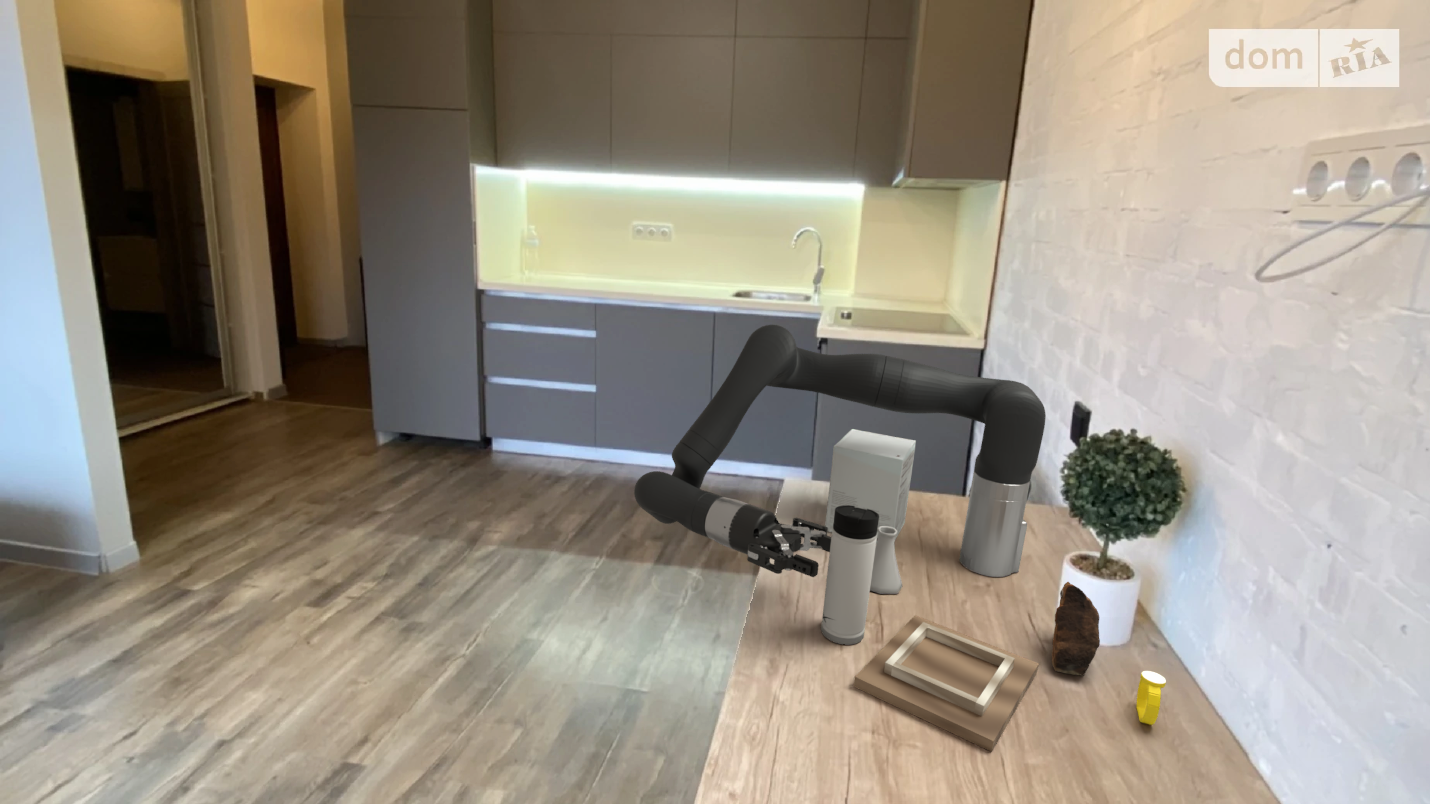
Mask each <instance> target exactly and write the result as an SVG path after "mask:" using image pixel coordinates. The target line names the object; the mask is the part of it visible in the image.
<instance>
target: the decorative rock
mask: <svg viewBox="0 0 1430 804" xmlns="http://www.w3.org/2000/svg"><path fill="white" fill-rule="evenodd" d="M1059 592H1060V593H1059V595H1060V600H1059V606H1058V607H1056V610H1055V614H1054V630H1053V635H1052V636H1053V638H1052V649H1051V650H1052V651H1051V665H1052V667H1053V669H1054V671H1055V672H1056V671H1058V672H1057V673H1063V674H1066V675H1067V674H1069V675H1073V676H1081V677H1082V676H1083V677H1084V676H1085V673H1086V672H1087V671H1088V669H1089V667H1090V665H1091V663H1092V661H1093V660H1094V657H1095V656H1096V653H1097V650H1098V649H1099V647H1100V644H1101V639H1100V629H1099V624H1100V614H1099V611H1098V609H1097V608H1096V607H1095V606H1094V604H1093V601H1092V600H1091V598H1089V597H1088V596H1087V595H1086V594H1085V592H1083V590H1081V589H1080V588H1079V587H1077V586H1076V585H1073V584H1071V583H1070V582H1069V581H1067V582H1065V583H1064V584H1063V587H1062V588H1061V590H1060V591H1059Z"/></svg>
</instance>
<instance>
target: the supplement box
mask: <svg viewBox="0 0 1430 804" xmlns="http://www.w3.org/2000/svg"><path fill="white" fill-rule="evenodd" d="M916 443H917V440H915V439H914V440H913V439H910V438H902V437H898V436H896V437H895V436H891V435H886V434H881V433H876V432H870V431H864V430H860V429H854V428H851V429H850V430H849V431H848V432H847V433H846V434H845V435H844V436H843V437H842V438H841V439H839V441H838V442H837V443H836V444H834V445H833V449H832V457H831V460H832V461H831V469H830V470H831V471H830V476H829V477H830V479H829V487H828V497H827V504H826V506H827V507H826V516H825V524H824V526H826V527H828V531H827V533H828V532H829V533H832V531H833V530H832V528H833V523H834V514H835V508H836V507H838V506H843V505H850V506H855V508H862V509H866V510H867V509H870V510H873V511H875V512H876V513H878V514H879V522H878V528H879V527H880V526H889V527H893V528H895V529H896V530H897V531H898V532H897V535H896V536H895V540H896V539H897V538H898V536H899V534H900V533H901V530H902V529H903V527H904V525H905V523H906V516H907V508H908V503H909V494H910V486H911V481H912V479H911V478H912V474H913V465H914V458H915V452H916ZM878 528H877V530H878ZM878 536H879V533H878V531H877V540H876V544H877V541H878Z"/></svg>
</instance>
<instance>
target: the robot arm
mask: <svg viewBox="0 0 1430 804" xmlns="http://www.w3.org/2000/svg"><path fill="white" fill-rule="evenodd" d="M766 387H773V388H780V389H781V388H782V389H791V390H797V391H798V390H799V391H805V392H806V391H807V392H813V393H818V394H823V395H827V396H829V397H834V398H837V399H840V400H843V401H849V402H853V403H857V404H862V405H865V406H870V407H874V408H877V409H881V410H886V411H891V412H896V413H901V414H903V413H904V414H946V415H947V414H949V415H953V416H957V417H961V418H966V419H969V420H973V421H976V422H979V423H982V424H984V427H983V435H982V440H981V446H980V450H979V452H978V454H977V456H976V458H975V461H974V467H973V472H972V480H971V486H970V493H969V497H968V505H967V511H966V518H965V522H964V528H963V535H962V541H961V546H960V554H959V559H958V560H959V562H960V564H961V565H963V567H965V568H966V569H967V570H969V571H971V572H974V573H975V574H978V575H982V576H987V577H993V578H1002V577H1003V578H1004V577H1007V576H1010V575H1012V574H1013V573H1019V571H1020V566H1021V561H1022V555H1023V550H1024V545H1025V541H1026V540H1025V539H1026V533H1027V529H1028V522H1027V521H1026V520H1025V519H1024V516H1025V511H1026V510H1025V509H1026V505H1027V501H1028V494H1029V490H1030V489H1029V488H1030V483H1031V480H1032V473H1033V471H1034V469H1035V468H1036V467H1037V463H1038V459H1039V454H1040V451H1041V446H1042V441H1043V438H1044V432H1045V426H1046V415H1047V414H1046V408H1045V406H1044V404H1043V402H1042V401H1041V399H1040V398H1039V397H1038V395H1037V393H1035V391H1033V389H1031V388H1030V387H1029V385H1026V384H1024V383H1022V382H1020V381H1016V380H1009V379H1008V380H1007V379H999V378H990V377H989V378H988V377H981V376H972V375H965V374H960V373H956V372H951V371H948V370H945V369H942V368H938V367H935V366H931V365H928V364H923V363H920V362H915V361H913V360H907V359H903V358H899V357H894V356H889V355H884V354H878V353H851V354H850V353H848V354H826V353H825V354H824V353H820V352H815V351H811V350H809V349H804V348H800V347H798V346H797V343H796V340H795V338H794V336H793V334H792V333H791V332H790V330H788V329H787V328H785V327H784V326H781V325H778V324H766V325H763V326H761V327H759V328H757V329H756V330H754V331H753V332H752V333H751V334H750V336H749V337H748V339H747V341H746V343H745V344H744V346H743V348H742V350H741V352H740V354H739V356H738V358H737V359H736V361H735V363H734V365H733V367H732V369H731V370H730V372H729V373H728V375H727V377H726V378H725V379H724V381H723V383H722V384H721V386H720V387H719V389H718V390H717V392H716V393H715V395H714V396H713V398H712V399H711V400H710V401H709V402H708V404H707V405H706V407H704V409H703V411H702V412H701V413H700V414H699V416H698V417H697V418H696V419H695V421H694V422H693V424H692V425H691V426H690V427H689V429H688V430H687V431H686V432H685V434H684V435H683V436H682V438H681V439H680V441H678V442H677V444H676V446H675V447H674V448H673V450H672V452H671V459H672V461H673V463H674V469H673V471H672V474H670V473H668V472H665V471H660V470H659V471H657V470H655V471H649V472H647V473H645V474H643V475H641V476H640V477H639V478H638V480H637V481H636V482H635V486H634V488H633V489H634V490H633V491H634V492H633V494H634V498H635V501H636V503H637V505H638V506H639V507H640V508H641V509H642V510H644V511H645V512H647V513H648V514H649V515H650V516H651V517H653V518H654V519H655V520H657V521H658V522H660V523H662V524H668V525H670V524H674V523H675V522H677V523H678V524H680V525H682V526H683V527H685V528H686V529H687V530H689V531H691V532H693V533H695V534H698V535H699V536H703V537H706V538H708V539H710V540H712V541H714V542H716V543H718V544H720V545H722V546H724V547H727V548H729V549H732V550H734V551H736V552H740V553H741V554H745V555H747V558H746V559H747V562H749V563H752V564H754V565H756V566H759V567H761V568H763V569H765V570H767V571H769V572H772V573H774V574H777V575H779V574H782V573H783V570H784V571H792V570H793V571H795V572H798V573H800V574H803V575H806V576H808V577H811V578H815V577H817V575H818V574H819V573H818V572H819V563H818V561H816V560H813V559H810V558H808V557H806V556H803V555H800V554H799V553H795V552H798V551H799V552H800V551H801V552H803V551H804V552H808V551H809V550H810V549H821V550H822V551H825V552H827V553H830V545H831V537H832V536H830V535H828V527H826V526H825V525H822V524H820V523H816V522H812V521H809V520H806V519H802V518H799V517H793V518H792V523H791V524H785V523H781V522H779V520H778V519H777V517H776V515H775V513H774V512H773V511H771V510H769V509H765V508H762V507H759V506H756V505H754V504H751V503H747V502H744V501H741V500H740V499H735V498H729V497H726V496H722V495H719V494H716V493H714V492H711V491H707V490H703V489H701V487H702V485H703V482H704V479H705V476H706V475H707V472H708V471H710V469H711V468H712V466H714V464H715V463H716V461H718V459H719V457H720V455H722V454H723V451H725V449H726V448H727V446H728V445H729V444H730V441H731V440H732V438H733V436H734V435H735V433H736V432H737V430H738V428H739V426H740V424H741V422H742V420H743V419H744V418H745V416H746V413H747V412H748V411H749V408H750V407H751V406H752V405H753V403H754V401H755V400H756V399H757V397H758V396H759V395H760V394H761V392H762V391H763V390H764V389H765V388H766ZM802 538H803V542H802ZM794 553H795V554H794ZM771 560H774V561H773V562H774V563H771ZM1011 573H1012V574H1011Z"/></svg>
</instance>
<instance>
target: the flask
mask: <svg viewBox="0 0 1430 804" xmlns="http://www.w3.org/2000/svg"><path fill="white" fill-rule="evenodd" d="M877 531H878V533H879V536H878V541H877V544H876V548H875V555H874V563H873V570H872V578H871V585H870V592H874V593H877V594H881V595H884V594H886V595H887V594H888V595H890V594H891V595H894V594H895V595H896V594H899V592H900V591H901V589H902V588H903V582H902V577H901V574H900V570H899V565H898V561H897V556H896V550H895V541H896V539H895V536H896V535H897V532H898V531H897V530H896V529H895V528H893V527H889V526H880V527H879V528H878V530H877Z"/></svg>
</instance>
